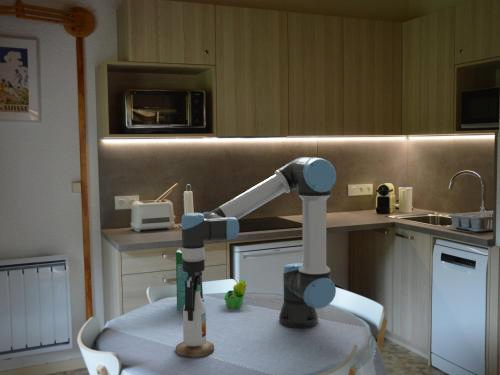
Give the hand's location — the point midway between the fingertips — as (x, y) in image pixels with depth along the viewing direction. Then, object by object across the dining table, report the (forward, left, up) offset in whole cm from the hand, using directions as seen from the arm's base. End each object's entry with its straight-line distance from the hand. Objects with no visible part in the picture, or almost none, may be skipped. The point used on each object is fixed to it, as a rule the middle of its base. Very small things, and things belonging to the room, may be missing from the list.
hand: (194, 325), depth 184 cm
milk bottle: (0, 0, -6) cm, 6 cm away
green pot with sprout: (-5, -50, -9) cm, 52 cm away
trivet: (0, 0, -9) cm, 9 cm away
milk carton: (+15, -46, -9) cm, 50 cm away
